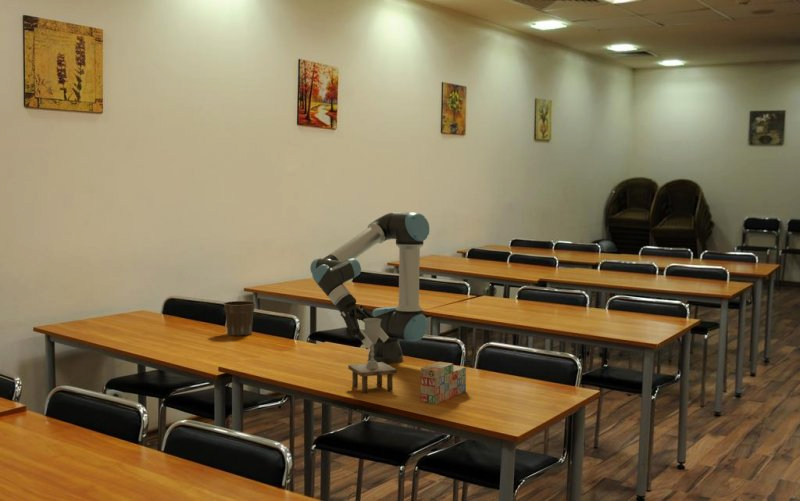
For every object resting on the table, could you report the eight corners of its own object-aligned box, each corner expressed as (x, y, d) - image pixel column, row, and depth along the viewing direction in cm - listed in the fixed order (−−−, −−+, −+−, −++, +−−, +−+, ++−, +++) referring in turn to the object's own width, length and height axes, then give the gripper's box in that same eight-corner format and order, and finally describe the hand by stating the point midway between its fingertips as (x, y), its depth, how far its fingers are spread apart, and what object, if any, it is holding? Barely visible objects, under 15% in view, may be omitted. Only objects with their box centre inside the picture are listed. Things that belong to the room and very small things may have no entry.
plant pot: (230, 330, 418) (229, 300, 417) (259, 331, 416) (259, 301, 415) (218, 336, 402) (218, 304, 401) (249, 337, 400) (249, 305, 399)
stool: (382, 382, 310) (382, 362, 309) (396, 390, 297) (397, 369, 296) (348, 385, 304) (348, 365, 303) (361, 394, 291) (361, 372, 290)
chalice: (378, 369, 296) (379, 321, 294) (361, 368, 297) (361, 320, 295) (383, 365, 303) (383, 318, 301) (365, 364, 304) (366, 317, 303)
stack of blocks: (451, 389, 300) (452, 356, 299) (466, 391, 297) (466, 359, 296) (420, 401, 283) (420, 367, 282) (435, 404, 279) (435, 369, 278)
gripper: (352, 302, 316) (386, 343, 310) (319, 310, 294) (356, 355, 288) (364, 289, 313) (399, 331, 307) (332, 297, 291) (369, 342, 286)
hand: (378, 342), depth 298 cm, fingers open, 12 cm apart
